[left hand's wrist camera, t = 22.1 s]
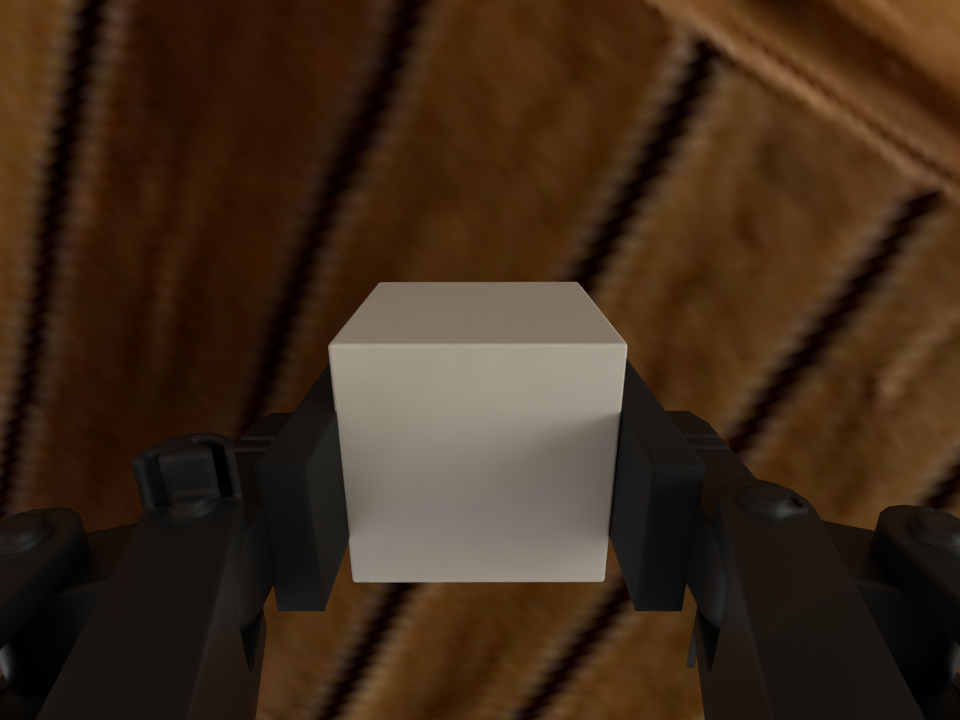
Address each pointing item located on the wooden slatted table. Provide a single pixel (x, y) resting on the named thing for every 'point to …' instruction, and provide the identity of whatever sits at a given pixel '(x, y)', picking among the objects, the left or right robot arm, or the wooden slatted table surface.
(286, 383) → the wooden slatted table surface
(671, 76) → the wooden slatted table surface
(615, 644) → the wooden slatted table surface
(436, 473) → the block
